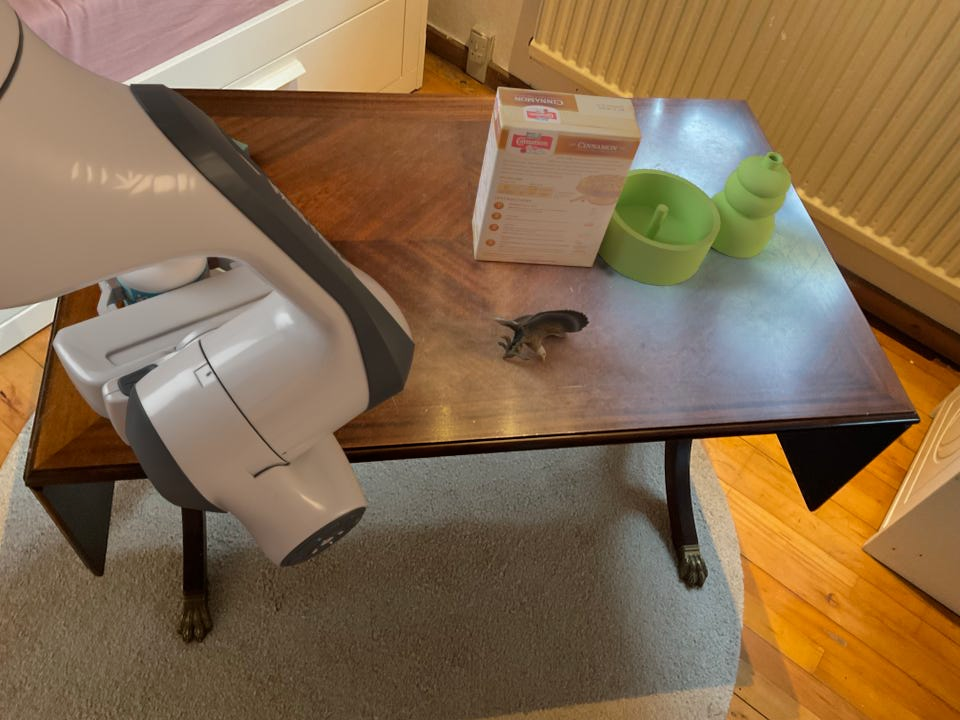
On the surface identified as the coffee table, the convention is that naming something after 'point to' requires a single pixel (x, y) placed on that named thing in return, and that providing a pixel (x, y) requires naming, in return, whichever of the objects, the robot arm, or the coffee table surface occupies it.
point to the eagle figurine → (539, 330)
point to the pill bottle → (162, 279)
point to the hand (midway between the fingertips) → (158, 264)
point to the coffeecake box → (552, 176)
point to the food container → (692, 220)
